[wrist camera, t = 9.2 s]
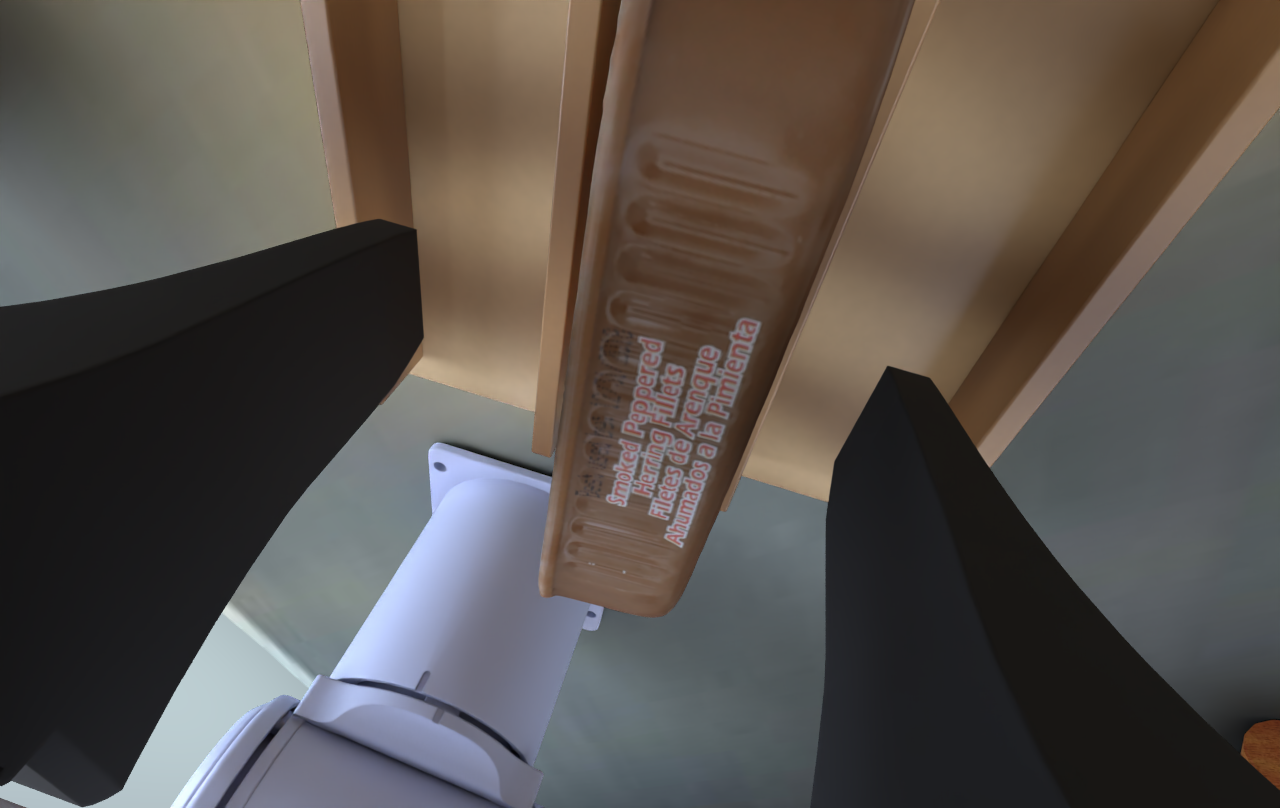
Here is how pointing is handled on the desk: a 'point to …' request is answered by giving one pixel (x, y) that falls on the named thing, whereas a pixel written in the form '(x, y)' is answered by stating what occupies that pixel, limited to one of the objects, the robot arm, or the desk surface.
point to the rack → (870, 221)
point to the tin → (699, 268)
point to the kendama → (1264, 749)
